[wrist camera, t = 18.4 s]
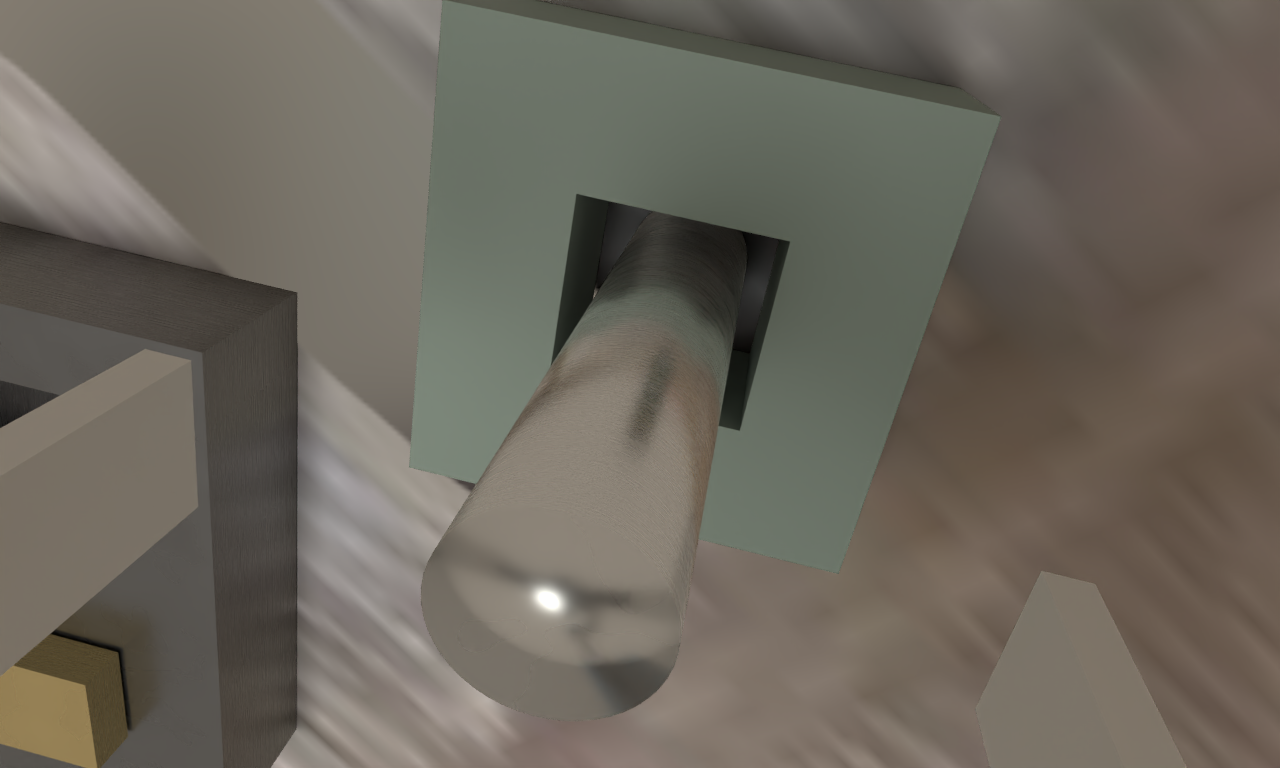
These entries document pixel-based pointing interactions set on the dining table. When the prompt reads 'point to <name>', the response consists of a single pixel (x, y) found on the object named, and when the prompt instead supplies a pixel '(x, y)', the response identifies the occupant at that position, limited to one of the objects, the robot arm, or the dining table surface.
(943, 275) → the green square-hole block
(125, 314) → the socket block
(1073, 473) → the dining table surface
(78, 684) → the golden block
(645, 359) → the shiny grey rod
